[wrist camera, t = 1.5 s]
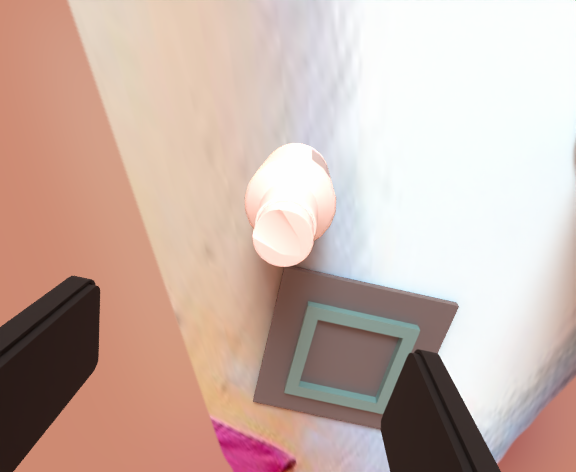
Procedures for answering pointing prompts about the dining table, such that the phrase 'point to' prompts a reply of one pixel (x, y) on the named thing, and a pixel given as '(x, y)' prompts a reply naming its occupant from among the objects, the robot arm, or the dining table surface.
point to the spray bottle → (290, 204)
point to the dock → (344, 344)
